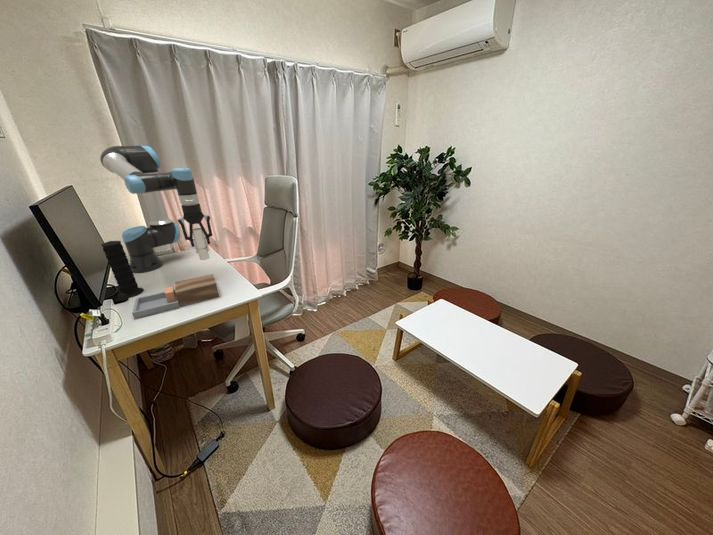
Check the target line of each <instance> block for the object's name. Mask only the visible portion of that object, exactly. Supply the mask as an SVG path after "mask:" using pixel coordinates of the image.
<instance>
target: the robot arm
mask: <svg viewBox="0 0 713 535" xmlns="http://www.w3.org/2000/svg"><path fill="white" fill-rule="evenodd" d="M99 159H100V163H101V164H102V167H104V168H105V170H106V171H109V172H110V173H113V174H116V175H117V176H118V177H119V178H121V179H122V180H123V182H124V185H125V187H126V189H127V190H128V192H129V193H130V194H134V195H137V194H141V195H142V196H143V198H144V199H143V200H144V203H145V206H146V208H147V212H148V215H149V218H150V222H149V223H148V225H149V227H146V226H145V225H139V226H138V225H137V226H134V227H131V228H127V229H125V230H123V231H122V233H121V237H122V242H123V243H124V245H125V249H126V251H127V253H128V256H129V265H130V266H131V269H132V272H133V274H134V273H135V274H138V273H140V274H141V273H147V272H151V271H155V270H157V269H159V268H161V267H162V266H163V261H162V260H161V258H160V257H159V256H158V255H157V253H156V252H155V250H154V249H155V248H157V247H159V248H160V247H162V246H166V245H171V244H175V243H177V242H179V240H180V239H181V231H180V228H181V230H182V233H183V237H184V239H185V241H189V242H190V246H191V247H192V248H193V247H194V249H195V253H196V254H198V250H197V247H196V243H195V239H194V236H193V229H194V227H193V226H194V225H195V224H196V225H199V228H201V229H202V231H203V234H204V238H205V242H206V246H207V250H208V252H210V247H209V245H211V241H210V237H213V231H212V225H211V223H210V220H211V216H210V215H207V214H204V213H203V211H202V207H201V204H200V200H199V199H200V198H199V196H198V192H197V187H196V183H195V180H194V179H195V178H194V174H193V172H192V170H191V168H189V167H176V168H172V169H171V171H167V172H159V169H160V168H161V160H160V158H159V156H158V154H157V153H156V151H155V150H154V148H152V147H150V146H149V145H112V146H110V147H109V146H108V148H106V149H105V150H103V151H102V152H101V154H100V158H99ZM170 190H173V191H174V190H176V193H177V195H178V200H179V204H181V210H182V214H183V215H182V217H181V218H178V219H177V222H178V224H179V225H180V228H179V225H178V224H177V223H176V222H174V221H173V219H171V218H170V217H169V215H168V211H167V207H166V205H165V204H166V203H165V202H164V198H163V195H162V191H163V192H164V191H170ZM203 218H204V220H205V221H206V225H207V226H206V227H207V229H208V232H207V230H206V229H205V227H204V224H203V222H202V221H203ZM185 221H186V222H187V223H188V224H189V236H188V234H187V230H186V227H185Z"/></svg>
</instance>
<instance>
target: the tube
mask: <svg viewBox="0 0 713 535" xmlns="http://www.w3.org/2000/svg"><path fill="white" fill-rule="evenodd" d="M204 237H205V235H204V233H203V231H202V229H201V227H198V228H197V227H196V228H193V239H195V243H196V247H197V250H198V253H197V254H198V258H199V260H200V261H205V260H206V261H207V260H209V259H210V254H209V251H208V250H207V246H206V242H205V238H204Z"/></svg>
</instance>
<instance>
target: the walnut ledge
mask: <svg viewBox="0 0 713 535" xmlns="http://www.w3.org/2000/svg"><path fill="white" fill-rule="evenodd" d="M174 284H175V285H174V286H175V288H174V290H175V294H176V297H177V300H178V303H179V306H180V308H181V307H185V306H189V305H193V304H197V303H200V302H205V301H208V300H209V301H210V300H213V299H217V298H220V294H219V289H218V286H217V282H216V278H215V276H214V273H212V274H207V275H203V276H197V277H193V278H188V279H184V280H180V281H179V280H178V281H175V283H174Z"/></svg>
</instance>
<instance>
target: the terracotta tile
mask: <svg viewBox="0 0 713 535" xmlns="http://www.w3.org/2000/svg"><path fill="white" fill-rule="evenodd" d="M164 292H165V296H166V299H167V301H168V303H172V302H176V301H177V297H176V294H175V288H174V286H168V287H165V289H164Z"/></svg>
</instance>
